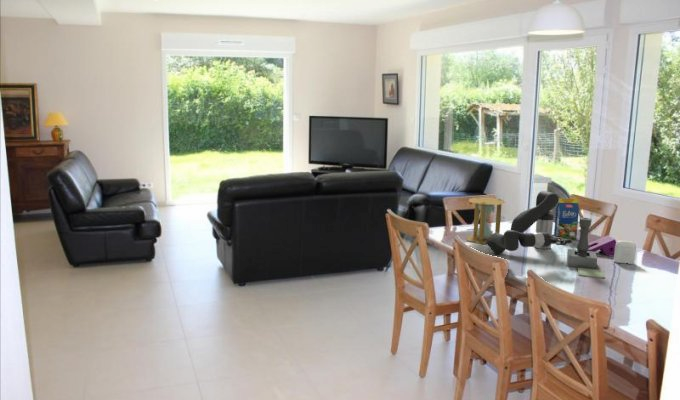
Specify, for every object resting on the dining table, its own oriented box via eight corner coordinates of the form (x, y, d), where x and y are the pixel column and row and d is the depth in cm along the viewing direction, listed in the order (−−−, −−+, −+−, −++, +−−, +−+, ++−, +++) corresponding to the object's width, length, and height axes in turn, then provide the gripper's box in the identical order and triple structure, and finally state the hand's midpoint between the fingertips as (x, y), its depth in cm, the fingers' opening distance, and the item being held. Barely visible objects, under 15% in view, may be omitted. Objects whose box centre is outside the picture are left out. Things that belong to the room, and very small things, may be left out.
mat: (578, 275, 293) (578, 274, 293) (577, 268, 304) (577, 267, 304) (604, 278, 289) (604, 277, 289) (602, 271, 300) (602, 270, 300)
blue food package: (576, 238, 367) (580, 199, 362) (557, 238, 367) (560, 199, 362) (572, 236, 373) (576, 197, 368) (553, 236, 373) (557, 197, 368)
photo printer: (633, 262, 317) (636, 240, 315) (634, 264, 313) (637, 242, 311) (612, 260, 320) (615, 238, 318) (613, 262, 316) (616, 240, 314)
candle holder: (572, 262, 315) (577, 217, 310) (583, 262, 315) (588, 217, 310) (578, 266, 309) (582, 220, 304) (589, 266, 309) (594, 220, 304)
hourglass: (470, 233, 375) (473, 195, 371) (506, 238, 366) (509, 198, 361) (461, 241, 354) (464, 201, 350) (499, 246, 345) (502, 205, 340)
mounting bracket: (589, 265, 332) (620, 252, 330) (584, 252, 331) (615, 239, 329) (583, 260, 341) (613, 248, 339) (578, 247, 340) (608, 235, 338)
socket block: (567, 266, 308) (568, 255, 307) (566, 259, 321) (567, 249, 320) (596, 269, 303) (597, 258, 302) (594, 262, 316) (595, 251, 315)
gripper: (530, 243, 309) (556, 242, 313) (546, 250, 295) (574, 249, 300) (532, 229, 308) (558, 229, 312) (548, 235, 294) (575, 235, 299)
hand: (566, 239), depth 306 cm, fingers open, 8 cm apart
